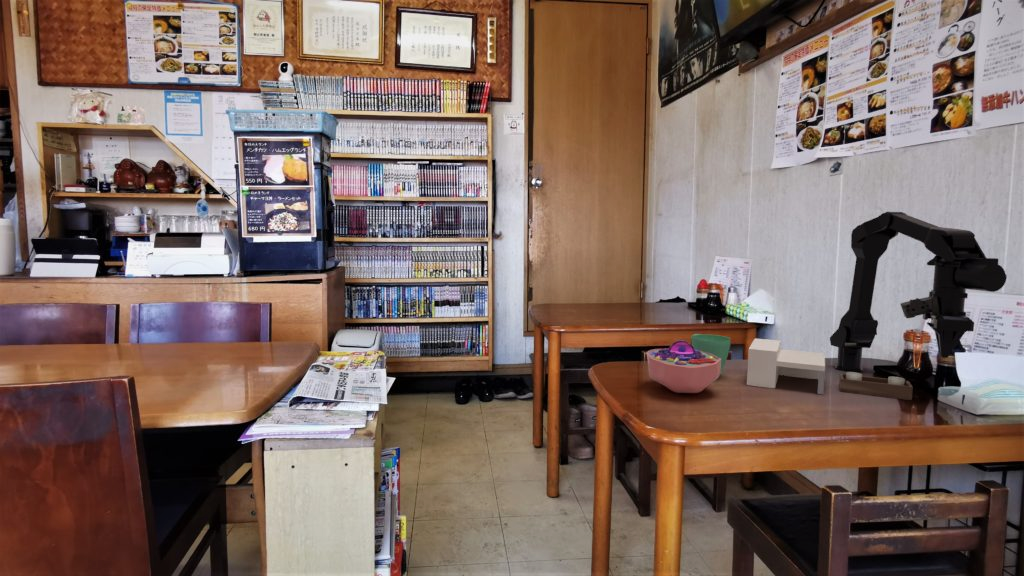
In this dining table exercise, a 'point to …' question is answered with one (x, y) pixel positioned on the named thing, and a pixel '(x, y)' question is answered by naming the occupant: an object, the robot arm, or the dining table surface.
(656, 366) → the cell model
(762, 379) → the counter
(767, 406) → the dining table surface
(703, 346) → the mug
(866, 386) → the tray
